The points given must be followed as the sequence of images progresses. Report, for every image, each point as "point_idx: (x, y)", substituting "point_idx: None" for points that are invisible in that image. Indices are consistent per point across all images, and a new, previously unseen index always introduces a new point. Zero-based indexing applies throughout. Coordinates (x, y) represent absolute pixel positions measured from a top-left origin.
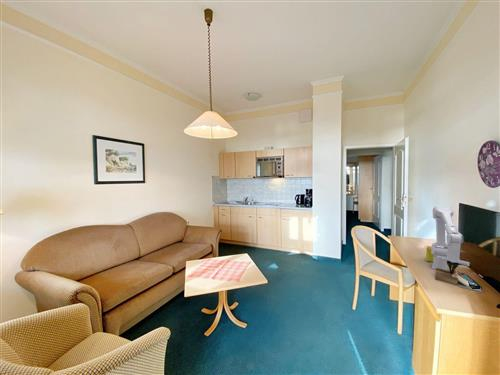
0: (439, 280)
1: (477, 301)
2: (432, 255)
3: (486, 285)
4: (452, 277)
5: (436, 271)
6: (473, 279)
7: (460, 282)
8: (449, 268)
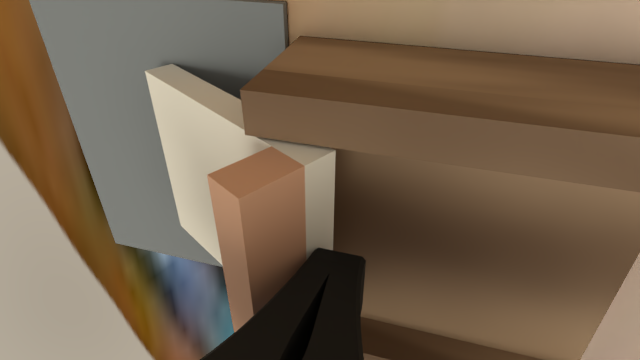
0: (579, 61)
1: None
2: None
3: (77, 250)
4: (337, 98)
5: (583, 324)
6: (175, 329)
7: None
8: (356, 356)
